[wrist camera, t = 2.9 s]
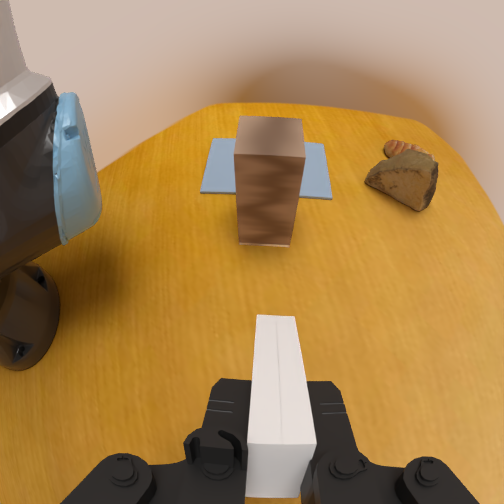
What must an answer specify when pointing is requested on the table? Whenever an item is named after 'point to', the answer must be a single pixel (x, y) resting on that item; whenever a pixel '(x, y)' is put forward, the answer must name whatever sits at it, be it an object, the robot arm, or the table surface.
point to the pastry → (401, 148)
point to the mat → (223, 174)
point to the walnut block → (268, 178)
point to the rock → (406, 178)
